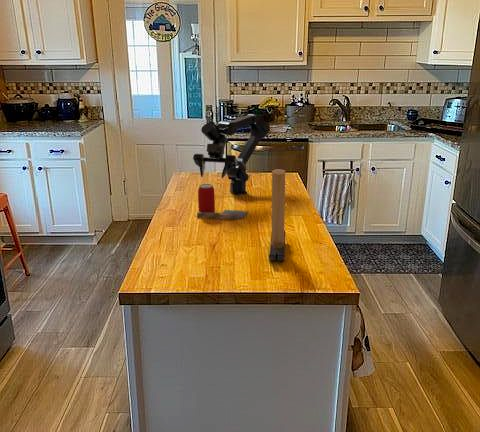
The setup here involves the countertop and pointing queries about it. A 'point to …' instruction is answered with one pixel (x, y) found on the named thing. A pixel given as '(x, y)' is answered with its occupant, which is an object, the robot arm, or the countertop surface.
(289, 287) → the countertop surface
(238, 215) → the end pad
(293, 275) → the countertop surface
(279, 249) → the hammer
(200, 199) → the beverage can
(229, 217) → the rail
